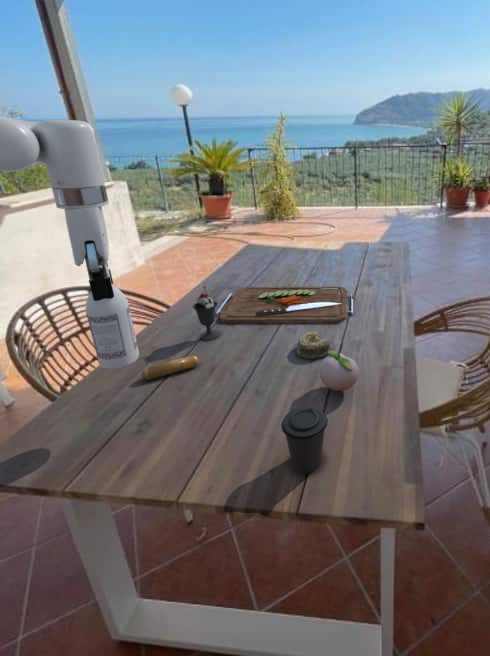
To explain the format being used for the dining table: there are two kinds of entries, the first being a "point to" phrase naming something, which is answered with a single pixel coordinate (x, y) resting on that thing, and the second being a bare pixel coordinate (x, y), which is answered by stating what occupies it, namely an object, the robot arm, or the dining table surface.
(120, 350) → the bath foam
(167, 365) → the breadstick
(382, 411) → the dining table surface
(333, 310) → the chopping board
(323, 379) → the decorative fruit
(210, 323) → the sundae
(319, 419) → the coffee cup
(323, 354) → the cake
